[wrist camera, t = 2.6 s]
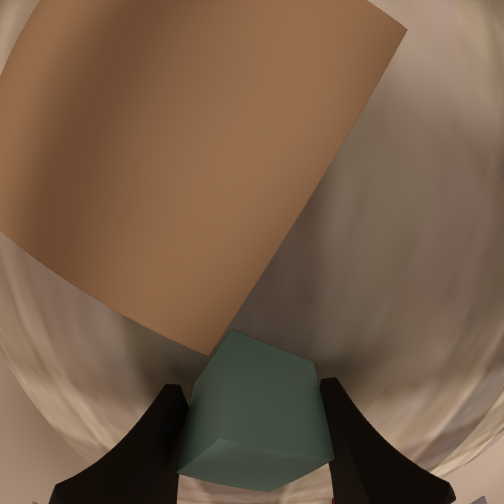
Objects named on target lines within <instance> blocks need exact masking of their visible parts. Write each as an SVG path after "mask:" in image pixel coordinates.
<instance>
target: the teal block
mask: <svg viewBox="0 0 504 504" xmlns="http://www.w3.org/2000/svg"><path fill="white" fill-rule="evenodd" d="M334 459H335V457H334V452H333V447H332V443H331V438H330V433H329V428H328V424H327V419H326V414H325V410H324V405H323V401H322V397H321V392H320V388H319V383H318V379H317V375H316V371H315V367H314V362H312V361H310V360H307V359H304V358H302V357H299V356H296V355H294V354H291V353H288V352H286V351H283V350H281V349H278V348H276V347H273V346H271V345H268V344H266V343H263V342H261V341H259V340H256V339H254V338H251V337H249V336H247V335H244V334H242V333H240V332H237V331H235V330H233V329H231V330H230V332H229V333H228V335H227V336H226V338H225V339H224V341H223V342H222V344H221V345H220V347H219V348H218V350H217V351H216V353H215V354H214V356H213V357H212V358H211V360H210V361H209V363H208V364H207V366H206V367H205V369H204V370H203V372H202V373H201V374H200V376H199V377H198V379H197V380H196V382H195V383H194V387H193V392H192V396H191V401H190V405H189V410H188V415H187V420H186V425H185V429H184V434H183V439H182V444H181V449H180V454H179V459H178V465H177V470H176V473H178V474H181V475H185V476H188V477H192V478H196V479H200V480H204V481H208V482H212V483H217V484H222V485H227V486H232V487H238V488H244V489H250V490H258V491H266V492H270V491H273V490H275V489H277V488H279V487H282V486H284V485H286V484H288V483H290V482H293V481H295V480H297V479H299V478H301V477H303V476H305V475H307V474H309V473H310V472H312V471H314V470H316V469H318V468H320V467H322V466H323V465H325V464H327V463H329V462H330V461H332V460H334Z"/></svg>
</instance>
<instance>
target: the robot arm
mask: <svg viewBox="0 0 504 504" xmlns="http://www.w3.org/2000/svg"><path fill="white" fill-rule="evenodd" d="M503 177H504V166H503ZM320 392H321V397H322V401H323V405H324V410H325V414H326V419H327V424H328V428H329V433H330V438H331V443H332V447H333V452H334V457H335V459H334V460H332V461H330V462H329V467H330V472H331V478H332V486H333V495H334V504H451V503H453V502H454V501H455V500H456V496H455V493H454V491H453V489H452V487H451V485H450V483H449V482H447V481H445V480H443V479H441V478H439V477H437V476H435V475H433V474H431V473H429V472H427V471H426V470H424V469H422V468H421V467H419V466H418V465H416V464H415V463H413V462H412V461H411V460H409V459H408V458H406V457H405V456H404V455H402V454H401V453H400V452H399V451H397V450H396V449H395V448H394V447H393V446H392V445H390V444H389V443H388V442H387V441H386V440H385V439H384V438H383V437H382V436H381V435H380V434H379V433H378V432H377V431H376V430H375V429H374V428H373V426H372V425H371V424H370V423H369V422H368V421H367V420H366V418H365V417H364V416H363V415H362V413H361V412H360V411H359V410H358V408H357V407H356V406H355V404H354V403H353V402H352V400H351V399H350V397H349V396H348V394H347V393H346V391H345V390H344V388H343V387H342V385H341V384H340V382H339V380H338V379H337V378H336V377H334V378H327V379H321V382H320ZM188 410H189V406H188V404H187V402H186V399H185V397H184V394H183V392H182V389H181V387H180V385H174V384H166V385H165V386H164V387H163V389H162V390H161V391H160V393H159V394H158V396H157V397H156V399H155V400H154V401H153V403H152V404H151V405H150V407H149V408H148V409H147V411H146V412H145V413H144V415H143V416H142V417H141V418H140V420H139V421H138V422H137V423H136V425H135V426H134V427H133V428H132V429H131V430H130V431H129V433H128V434H127V435H126V436H125V437H124V438H123V439H122V440H121V441H120V442H119V443H118V444H117V445H116V446H115V447H114V448H113V449H112V450H110V451H109V452H108V453H107V454H106V455H104V456H103V457H102V458H101V459H100V460H98V461H97V462H95V463H94V464H93V465H91V466H90V467H88V468H87V469H85V470H83V471H82V472H80V473H78V474H77V475H75V476H73V477H71V478H69V479H67V480H65V481H63V482H60V483H58V484H56V485H55V488H54V490H53V492H52V495H51V498H50V501H49V504H177V491H178V480H179V474H178V473H176V470H177V465H178V459H179V454H180V449H181V444H182V439H183V434H184V429H185V425H186V420H187V415H188ZM32 504H37V503H35V502H32ZM471 504H487V502H486V499H485V497H484V496H482V497H480V498H479V499H477V500H476V501H474V502H472V503H471Z"/></svg>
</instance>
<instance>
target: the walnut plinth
mask: <svg viewBox="0 0 504 504" xmlns="http://www.w3.org/2000/svg"><path fill="white" fill-rule="evenodd" d="M406 32H407V29H406V28H405V27H404V26H402V25H401V24H400V23H399V22H397V21H396V20H395V19H393V18H392V17H390V16H389V15H388V14H386V13H385V12H383V11H382V10H380V9H379V8H378V7H376V6H375V5H373V4H371V3H370V2H368V1H367V0H40V2H39V3H38V5H37V6H36V8H35V9H34V11H33V12H32V14H31V16H30V17H29V19H28V21H27V22H26V24H25V26H24V28H23V29H22V31H21V33H20V35H19V37H18V39H17V41H16V43H15V45H14V47H13V49H12V51H11V53H10V55H9V57H8V60H7V62H6V64H5V66H4V69H3V71H2V74H1V76H0V231H1V232H3V233H4V234H5V235H6V236H7V237H9V238H10V239H11V240H12V241H13V242H15V243H16V244H17V245H18V246H20V247H21V248H22V249H23V250H25V251H26V252H27V253H29V254H30V255H31V256H33V257H34V258H35V259H37V260H38V261H39V262H41V263H42V264H44V265H45V266H46V267H48V268H49V269H51V270H52V271H53V272H55V273H56V274H58V275H59V276H61V277H62V278H64V279H65V280H67V281H68V282H70V283H71V284H73V285H74V286H76V287H77V288H79V289H80V290H82V291H84V292H85V293H87V294H88V295H90V296H92V297H93V298H95V299H97V300H98V301H100V302H102V303H103V304H105V305H107V306H108V307H110V308H112V309H114V310H115V311H117V312H119V313H121V314H123V315H124V316H126V317H128V318H130V319H132V320H134V321H135V322H137V323H139V324H141V325H143V326H145V327H147V328H149V329H151V330H153V331H155V332H157V333H159V334H161V335H163V336H165V337H167V338H169V339H171V340H173V341H175V342H177V343H179V344H182V345H184V346H186V347H188V348H190V349H193V350H195V351H197V352H199V353H202V354H204V355H206V356H209V354H210V353H211V351H212V350H213V348H214V347H215V345H216V344H217V342H218V341H219V339H220V338H221V336H222V335H223V333H224V332H225V330H226V329H227V327H228V326H229V324H230V323H231V321H232V320H233V318H234V317H235V315H236V314H237V312H238V310H239V309H240V307H241V306H242V304H243V303H244V301H245V300H246V298H247V297H248V295H249V294H250V292H251V290H252V289H253V287H254V286H255V284H256V283H257V281H258V280H259V278H260V276H261V275H262V273H263V272H264V270H265V269H266V267H267V265H268V264H269V262H270V261H271V259H272V258H273V256H274V254H275V253H276V251H277V250H278V248H279V247H280V245H281V243H282V242H283V240H284V239H285V237H286V235H287V234H288V232H289V231H290V229H291V227H292V226H293V224H294V223H295V221H296V219H297V218H298V216H299V215H300V213H301V211H302V210H303V208H304V206H305V205H306V203H307V202H308V200H309V198H310V197H311V195H312V193H313V192H314V190H315V189H316V187H317V185H318V184H319V182H320V180H321V179H322V177H323V175H324V174H325V172H326V170H327V169H328V167H329V165H330V164H331V162H332V160H333V159H334V157H335V155H336V154H337V152H338V150H339V149H340V147H341V145H342V144H343V142H344V140H345V139H346V137H347V135H348V134H349V132H350V130H351V129H352V127H353V125H354V123H355V122H356V120H357V118H358V117H359V115H360V113H361V111H362V110H363V108H364V106H365V105H366V103H367V101H368V99H369V98H370V96H371V94H372V92H373V91H374V89H375V87H376V85H377V84H378V82H379V80H380V78H381V77H382V75H383V73H384V71H385V70H386V68H387V66H388V64H389V63H390V61H391V59H392V57H393V55H394V54H395V52H396V50H397V48H398V46H399V45H400V43H401V41H402V39H403V37H404V35H405V34H406Z"/></svg>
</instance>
